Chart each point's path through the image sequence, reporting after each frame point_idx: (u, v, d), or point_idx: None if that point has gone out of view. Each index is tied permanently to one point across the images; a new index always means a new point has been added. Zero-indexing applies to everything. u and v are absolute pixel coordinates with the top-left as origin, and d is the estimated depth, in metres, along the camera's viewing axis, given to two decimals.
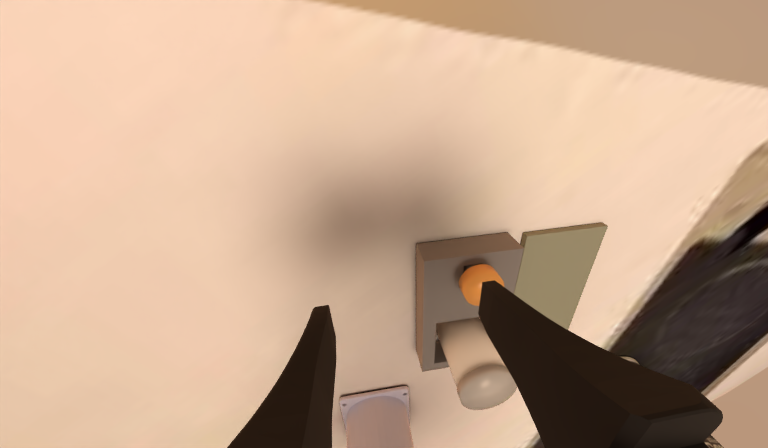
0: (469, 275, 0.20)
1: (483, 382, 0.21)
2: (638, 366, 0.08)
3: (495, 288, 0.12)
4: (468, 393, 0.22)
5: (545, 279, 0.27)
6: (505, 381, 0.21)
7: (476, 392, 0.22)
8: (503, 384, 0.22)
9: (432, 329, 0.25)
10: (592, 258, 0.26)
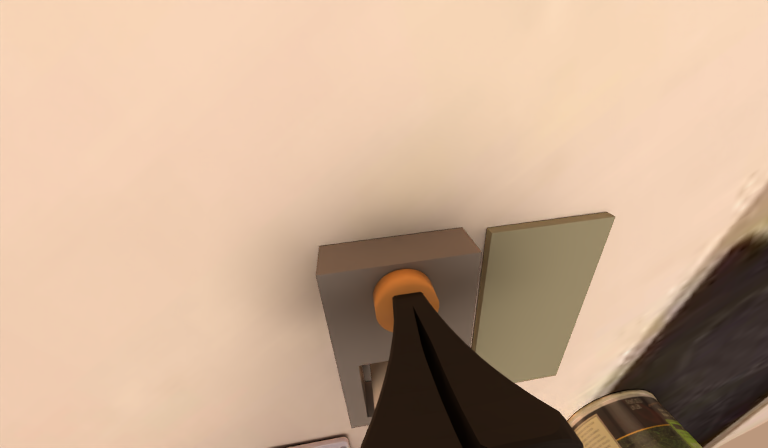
0: (383, 287, 0.13)
1: None
2: (518, 388, 0.07)
3: (416, 300, 0.12)
4: None
5: (525, 296, 0.18)
6: None
7: None
8: None
9: (354, 374, 0.17)
10: (593, 265, 0.18)
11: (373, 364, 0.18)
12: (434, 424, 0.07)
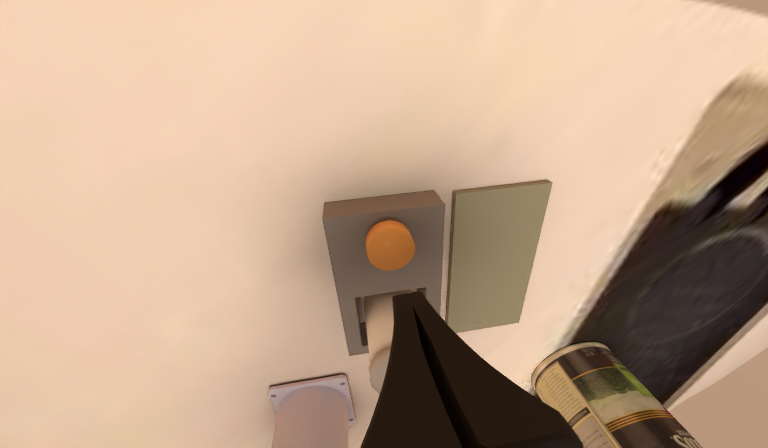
0: (372, 232, 0.17)
1: None
2: (518, 388, 0.07)
3: (416, 300, 0.12)
4: (379, 376, 0.18)
5: (486, 248, 0.23)
6: None
7: None
8: None
9: (351, 305, 0.22)
10: (539, 223, 0.23)
11: (366, 302, 0.23)
12: (434, 424, 0.07)
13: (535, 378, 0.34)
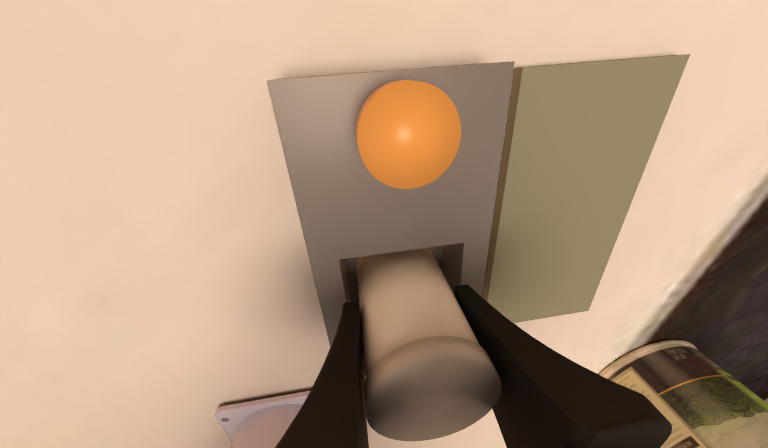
0: (370, 98, 0.08)
1: (415, 379, 0.08)
2: (594, 374, 0.08)
3: (466, 292, 0.12)
4: (383, 406, 0.09)
5: (559, 183, 0.14)
6: (472, 376, 0.09)
7: (403, 403, 0.09)
8: (468, 384, 0.09)
9: (334, 273, 0.12)
10: (651, 138, 0.13)
11: (361, 272, 0.14)
12: (340, 442, 0.06)
13: None
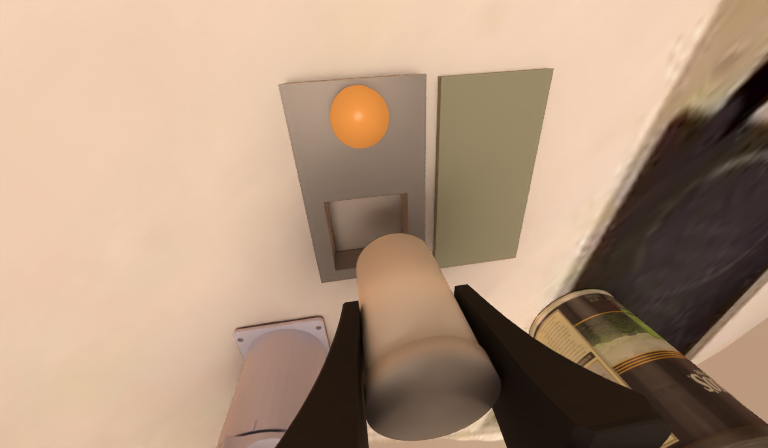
0: (337, 95, 0.14)
1: (415, 379, 0.08)
2: (594, 374, 0.08)
3: (466, 292, 0.12)
4: (382, 406, 0.09)
5: (477, 155, 0.20)
6: (471, 376, 0.09)
7: (402, 403, 0.09)
8: (467, 383, 0.09)
9: (320, 212, 0.18)
10: (538, 124, 0.20)
11: (360, 272, 0.14)
12: (341, 442, 0.06)
13: (533, 331, 0.31)
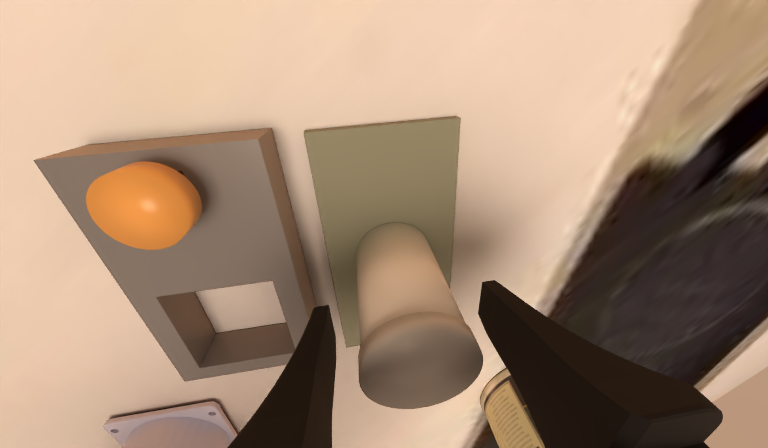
0: None
1: (405, 348, 0.09)
2: (638, 366, 0.08)
3: (495, 288, 0.12)
4: (374, 372, 0.10)
5: (375, 224, 0.16)
6: (456, 349, 0.10)
7: (393, 371, 0.10)
8: (452, 356, 0.10)
9: (155, 308, 0.14)
10: (451, 185, 0.15)
11: (360, 257, 0.15)
12: None
13: (483, 401, 0.26)
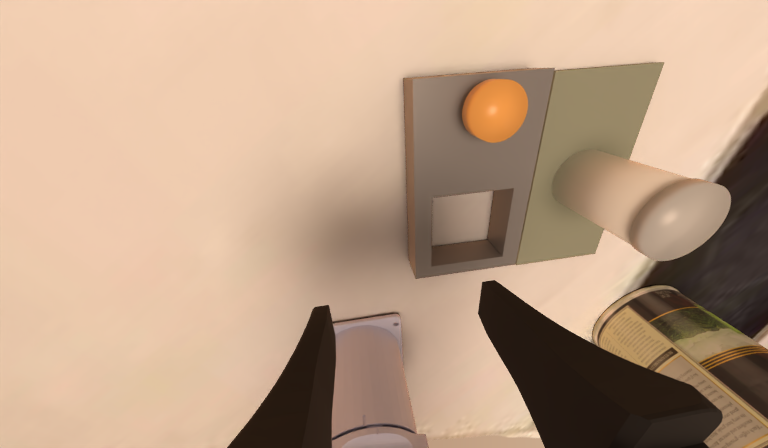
0: (477, 89, 0.14)
1: (689, 199, 0.14)
2: (638, 366, 0.08)
3: (495, 288, 0.12)
4: (661, 221, 0.14)
5: (576, 150, 0.20)
6: (717, 203, 0.14)
7: (671, 220, 0.14)
8: (711, 210, 0.14)
9: (428, 207, 0.18)
10: (639, 119, 0.20)
11: (573, 172, 0.19)
12: None
13: (599, 327, 0.31)
